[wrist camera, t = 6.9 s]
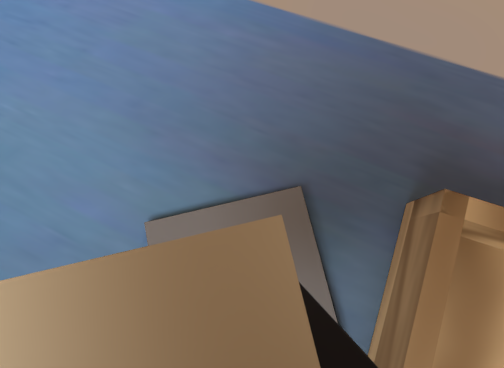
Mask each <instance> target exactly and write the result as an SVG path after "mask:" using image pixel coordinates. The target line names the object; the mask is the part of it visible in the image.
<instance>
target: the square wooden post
mask: <svg viewBox="0 0 504 368" xmlns="http://www.w3.org/2000/svg"><path fill="white" fill-rule="evenodd" d="M0 368H320V364H319V360H318V356H317V352H316V348H315V344H314V340H313V336H312V332H311V328H310V324H309V320H308V316H307V313H306V309H305V305H304V301H303V297H302V293H301V289H300V285H299V281H298V277H297V273H296V269H295V265H294V261H293V257H292V253H291V249H290V245H289V241H288V237H287V233H286V229H285V226H284V222H283V218H282V215H278V216H273V217H269V218H265V219H261V220H256V221H252V222H248V223H244V224H239V225H235V226H231V227H227V228H222V229H218V230H214V231H210V232H206V233H201V234H197V235H193V236H189V237H184V238H180V239H176V240H172V241H167V242H163V243H159V244H155V245H150V246H146V247H142V248H138V249H133V250H129V251H125V252H121V253H116V254H112V255H108V256H104V257H99V258H95V259H91V260H87V261H83V262H78V263H74V264H70V265H66V266H61V267H57V268H53V269H49V270H44V271H40V272H36V273H32V274H27V275H23V276H19V277H15V278H10V279H6V280H2V281H0Z"/></svg>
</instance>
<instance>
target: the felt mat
mask: <svg viewBox="0 0 504 368" xmlns="http://www.w3.org/2000/svg"><path fill="white" fill-rule="evenodd" d="M278 215H282V218H283V222H284V226H285V229H286V233H287V237H288V241H289V245H290V249H291V253H292V257H293V261H294V265H295V269H296V273H297V277H298V281H299V282H300V283H301V284H302V286H303V287H304V288H305V289H306V290H307V291H308V292H309V293H310V294H311V295H312V296H313V297H314V298H315V300H316V301H317V302H318V303H319V304H320V305H321V306H322V307H323V308H324V309H325V310H326V311H327V313H328V314H329V315H330V316H331V317H332V318H333V319H334V320H335V321H336V322H337V319H336V315H335V311H334V307H333V304H332V300H331V296H330V293H329V289H328V285H327V281H326V278H325V274H324V270H323V267H322V263H321V259H320V255H319V252H318V248H317V244H316V241H315V237H314V233H313V229H312V226H311V222H310V218H309V215H308V211H307V207H306V204H305V200H304V196H303V192H302V189H301V186H299V187H294V188H290V189H286V190H282V191H277V192H273V193H269V194H264V195H260V196H256V197H252V198H247V199H243V200H239V201H235V202H230V203H226V204H222V205H217V206H213V207H209V208H205V209H200V210H196V211H192V212H188V213H183V214H179V215H175V216H170V217H166V218H162V219H158V220H153V221H149V222H145V223H144V224H145V230H146V236H147V242H148V246H150V245H155V244H159V243H163V242H167V241H172V240H176V239H180V238H184V237H189V236H193V235H197V234H201V233H206V232H210V231H214V230H218V229H222V228H227V227H231V226H235V225H239V224H244V223H248V222H252V221H256V220H261V219H265V218H269V217H273V216H278ZM337 323H338V322H337Z"/></svg>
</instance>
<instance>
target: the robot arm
mask: <svg viewBox="0 0 504 368" xmlns="http://www.w3.org/2000/svg"><path fill="white" fill-rule="evenodd" d="M299 285H300V289H301V293H302V297H303V301H304V305H305V309H306V313H307V316H308V320H309V324H310V328H311V332H312V336H313V340H314V344H315V348H316V352H317V356H318V360H319V364H320V368H378V367H377V366H376V364H375V363H374V362H373V361H372V360H371V359H370V358H369V357H368V356H367V355H366V354H365V353H364V351H363V350H362V349H361V348H360V347H359V346H358V345H357V344H356V343H355V342H354V341H353V340H352V339H351V337H350V336H349V335H348V334H347V333H346V332H345V331H344V330H343V329H342V328H341V327H340V326H339V324H338V323H337V322H336V321H335V320H334V319H333V318H332V317H331V316H330V315H329V314H328V313H327V311H326V310H325V309H324V308H323V307H322V306H321V305H320V304H319V303H318V302H317V301H316V300H315V298H314V297H313V296H312V295H311V294H310V293H309V292H308V291H307V290H306V289H305V288H304V287H303V286H302V284H301V283H300V282H299Z"/></svg>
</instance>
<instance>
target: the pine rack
mask: <svg viewBox="0 0 504 368" xmlns="http://www.w3.org/2000/svg"><path fill="white" fill-rule="evenodd" d="M368 357H369V358H370V359H371V360H372V361H373V362H374V363H375V364H376V366H377V367H378V368H504V207H502V206H498V205H495V204H492V203H489V202H486V201H482V200H479V199H476V198H473V197H470V196H466V195H463V194H460V193H457V192H454V191H450V190H447V189H443V190H441V191H438V192H436V193H433V194H430V195H428V196H425V197H423V198H420V199H417V200H415V201H412V202H410V203H407V204H406V207H405V211H404V215H403V219H402V223H401V227H400V231H399V235H398V239H397V243H396V247H395V251H394V255H393V258H392V262H391V266H390V270H389V274H388V278H387V282H386V286H385V290H384V294H383V298H382V302H381V306H380V310H379V314H378V317H377V321H376V325H375V329H374V333H373V337H372V341H371V345H370V349H369V353H368Z"/></svg>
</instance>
